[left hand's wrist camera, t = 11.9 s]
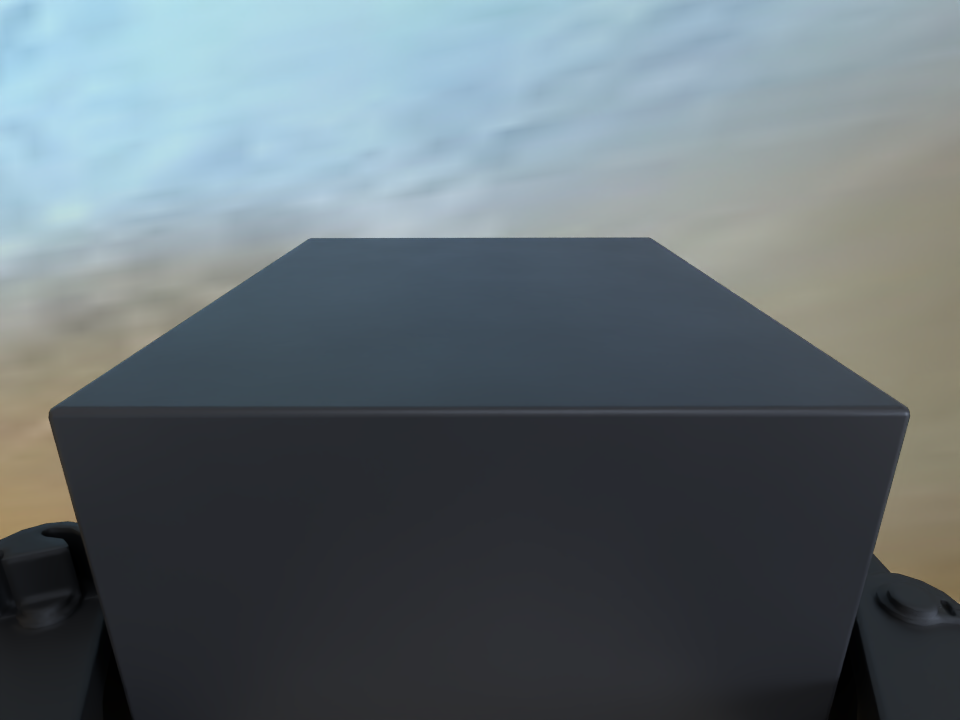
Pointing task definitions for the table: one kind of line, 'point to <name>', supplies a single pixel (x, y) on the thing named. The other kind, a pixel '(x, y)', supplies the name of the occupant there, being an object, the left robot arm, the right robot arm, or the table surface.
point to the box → (479, 492)
